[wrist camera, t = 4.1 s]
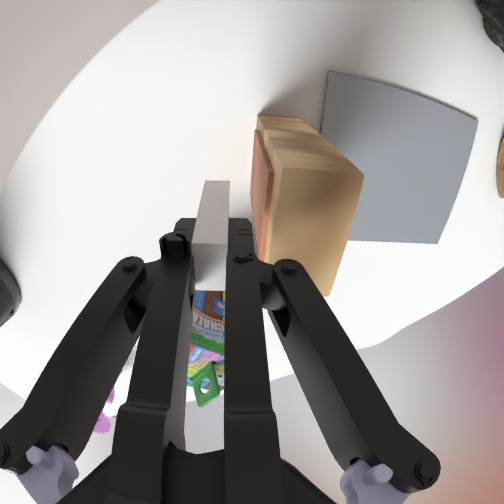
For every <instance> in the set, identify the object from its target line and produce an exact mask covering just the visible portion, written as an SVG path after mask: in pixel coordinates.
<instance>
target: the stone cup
mask: <svg viewBox="0 0 504 504" xmlns="http://www.w3.org/2000/svg"><path fill="white" fill-rule="evenodd" d="M496 175H497V190H498V195H499V197H500V198H504V138H503V140H502V143H501V146H500V150H499V153H498V158H497V174H496Z"/></svg>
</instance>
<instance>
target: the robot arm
mask: <svg viewBox="0 0 504 504" xmlns="http://www.w3.org/2000/svg"><path fill="white" fill-rule="evenodd" d="M229 187H230V181H205V184H204V188H203V192H202V196H201V201H200V205H199V210H198V214H197V218H181V219H180V220H179V221H178V222H177V223H176V225H175V228H174V231H173V232H171V233H168V234H165V235H164V236H162V237H161V238H160V240H159V244H160V250H161V259H159V260H157V261H154V262H149V263H144V261H143V260H142V259H141V258H139V257H134V256H131V257H126V258H124V259H122V260H121V261H119V262H118V263H117V265H116V266H115V267H114V268H113V270H112V271H111V272H110V273H109V275H108V276H107V277H106V279H105V280H104V281H103V283H102V284H101V285H100V287H99V288H98V289H97V291H96V292H95V293H94V295H93V296H92V297H91V299H90V300H89V301H88V303H87V304H86V306H85V307H84V308H83V310H82V311H81V313H80V314H79V316H78V317H77V318H76V320H75V321H74V323H73V324H72V326H71V327H70V329H69V330H68V332H67V333H66V335H65V336H64V338H63V339H62V341H61V342H60V344H59V345H58V347H57V349H56V350H55V352H54V353H53V355H52V357H51V358H50V360H49V362H48V363H47V365H46V366H45V368H44V370H43V372H42V373H41V375H40V377H39V378H38V380H37V382H36V384H35V385H34V387H33V389H32V391H31V393H30V394H29V396H28V398H27V400H26V402H25V404H24V406H23V408H22V409H21V410H20V411H19V412H18V413H17V414H15V415H14V416H13V417H12V419H10V420H9V422H7V423H6V424H5V425H4V426H3V427H2V428H1V429H0V468H2V469H4V470H6V471H8V472H10V473H13V474H15V475H16V476H17V477H18V479H19V480H20V482H21V483H22V484H23V486H24V487H25V489H26V490H27V491H28V493H29V494H30V495H31V497H32V498H33V499H34V501H35V502H36V503H37V504H337V503H335V502H334V501H333V500H332V499H330V498H329V497H328V496H327V495H326V494H324V493H323V492H322V491H321V490H320V489H319V488H317V487H316V486H315V485H314V484H313V483H312V482H311V481H310V480H308V479H307V478H306V477H305V476H304V475H303V474H302V473H301V472H300V471H298V470H297V469H296V468H295V467H294V466H293V465H291V464H290V463H289V462H287V461H285V460H284V459H282V458H281V457H280V448H279V438H278V429H277V420H276V416H275V412H274V411H273V409H272V402H271V392H270V382H269V372H268V362H267V352H266V342H265V332H264V322H263V312H262V308H265V309H267V310H268V314H269V316H270V318H271V321H272V323H273V325H274V327H275V330H276V332H277V334H278V336H279V339H280V341H281V343H282V345H283V347H284V350H285V352H286V354H287V356H288V359H289V361H290V363H291V365H292V368H293V370H294V372H295V374H296V376H297V379H298V381H299V383H300V385H301V388H302V390H303V392H304V394H305V396H306V399H307V401H308V403H309V405H310V407H311V410H312V412H313V414H314V416H315V418H316V421H317V423H318V425H319V427H320V429H321V432H322V434H323V436H324V438H325V440H326V442H327V444H328V447H329V449H330V451H331V452H332V454H333V456H334V458H335V460H336V461H337V462H338V463H339V465H340V466H341V468H342V469H343V470H344V471H345V472H344V474H343V475H342V478H341V480H340V487H341V490H342V492H343V493H344V495H345V497H346V501H347V504H403V502H404V501H405V500H406V498H408V496H409V495H410V494H412V493H414V492H418V491H421V490H424V489H427V488H429V487H431V486H432V485H433V484H434V483H435V482H436V481H437V479H438V477H439V474H440V469H441V466H440V462H439V460H438V458H437V457H436V455H434V454H433V453H432V452H431V451H430V450H429V449H428V448H426V447H425V446H424V445H423V444H422V443H420V441H418V440H417V439H416V438H415V437H414V436H413V435H411V434H410V433H409V432H408V431H406V429H405V428H403V427H402V426H401V425H400V424H399V423H398V421H397V420H396V418H395V416H394V415H393V413H392V411H391V409H390V407H389V405H388V404H387V402H386V400H385V399H384V397H383V395H382V394H381V391H380V390H379V388H378V387H377V385H376V383H375V381H374V379H373V378H372V376H371V374H370V373H369V371H368V369H367V368H366V366H365V364H364V363H363V361H362V359H361V358H360V356H359V354H358V353H357V351H356V349H355V348H354V346H353V344H352V343H351V341H350V339H349V338H348V336H347V334H346V333H345V331H344V330H343V328H342V326H341V325H340V323H339V321H338V320H337V318H336V317H335V315H334V313H333V312H332V310H331V309H330V307H329V305H328V304H327V302H326V301H325V299H324V298H323V296H322V294H321V293H320V291H319V290H318V288H317V287H316V285H315V283H314V282H313V280H312V279H311V277H310V276H309V274H308V273H307V271H306V270H305V268H304V266H303V265H302V264H301V263H300V262H298V261H296V260H293V259H281V260H278V261H277V262H275V264H274V265H273V264H269V263H265V262H263V261H261V260H260V259H258V258H257V257H256V254H255V252H254V243H253V233H252V224H251V222H250V221H249V220H248V219H247V218H229ZM194 288H195V289H196V290H210V291H225V332H224V449H222V450H218V451H213V452H208V453H202V454H193V453H190V452H187V451H185V436H184V419H185V403H186V388H187V374H188V362H189V351H190V340H191V330H192V321H193V311H194V303H195V294H194ZM20 303H21V294H20V291H19V288H18V286H17V284H16V282H15V280H14V278H13V276H12V275H11V273H10V272H9V271H8V269H7V268H6V267H5V265H4V264H3V263H2V262H1V261H0V327H1V326H2V325H3V324H4V323H5V322H6V321H8V320H9V319H10V318H11V317H12V316H13V315H14V314H15V313H16V311H17V309H18V307H19V305H20ZM139 336H140V338H139V342H138V346H137V351H136V356H135V360H134V365H133V370H132V375H131V380H130V386H129V391H128V397H127V401H126V402H125V403H124V404H122V405H121V406H120V408H119V410H118V413H117V418H116V425H115V431H114V439H113V446H112V454H111V455H110V456H109V457H107V458H106V459H105V460H104V461H103V462H102V463H101V464H100V465H99V466H98V467H97V468H95V469H94V470H93V471H92V472H91V473H90V474H89V475H88V476H87V477H85V478H84V479H83V480H82V481H81V482H80V483H79V484H78V485H76V486H75V487H74V488H73V489H72V485H73V482H74V480H75V479H77V478H78V476H79V471H78V469H77V467H76V464H75V461H76V460H77V458H78V457H79V456H80V454H81V453H82V451H83V450H84V448H85V447H86V445H87V442H88V441H89V438H90V436H91V434H92V432H93V430H94V427H95V425H96V423H97V421H98V418H99V416H100V414H101V412H102V410H103V408H104V405H105V403H106V401H107V399H108V397H109V395H110V393H111V391H112V389H113V387H114V385H115V382H116V380H117V378H118V376H119V374H120V372H121V370H122V368H123V366H124V364H125V362H126V360H127V359H128V357H129V355H130V353H131V351H132V349H133V347H134V345H135V343H136V341H137V339H138V337H139Z"/></svg>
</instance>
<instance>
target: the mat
mask: <svg viewBox="0 0 504 504" xmlns="http://www.w3.org/2000/svg"><path fill="white" fill-rule="evenodd" d="M477 126H478V121H476V120H475V119H473V118H470V117H468V116H466V115H464V114H462V113H460V112H458V111H456V110H453V109H451V108H449V107H446V106H444V105H442V104H439V103H437V102H434V101H432V100H429V99H427V98H424V97H421V96H419V95H416V94H413V93H410V92H407V91H404V90H401V89H398V88H395V87H392V86H388V85H385V84H382V83H378V82H375V81H371V80H367V79H363V78H359V77H355V76H351V75H346V74H342V73H337V72H332V71H329V72H328V80H327V88H326V96H325V104H324V111H323V118H322V125H321V132H320V135H322V136H323V137H324V138H325V139H326V140H327V141H329V142H330V143H331V144H332V145H333V146H334V147H335V148H336V149H338V150H339V151H340V152H341V153H342V154H343V155H344V156H345V157H346V158H347V159H348V160H349V161H351V162H352V163H353V164H354V165H355V166H356V167H357V168H358V169H359V170H360V171H361V172H362V173H363V174H364V175H365V176H364V181H363V185H362V189H361V192H360V196H359V200H358V204H357V208H356V211H355V215H354V218H353V222H352V226H351V229H350V232H349V236H348V239H347V240H351V241H379V242H404V243H427V244H437V243H438V241H439V239H440V237H441V234H442V232H443V230H444V227H445V225H446V223H447V220H448V218H449V215H450V213H451V210H452V208H453V205H454V202H455V200H456V197H457V194H458V191H459V188H460V186H461V183H462V180H463V177H464V173H465V170H466V167H467V164H468V160H469V157H470V153H471V150H472V146H473V142H474V138H475V134H476V130H477Z"/></svg>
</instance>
